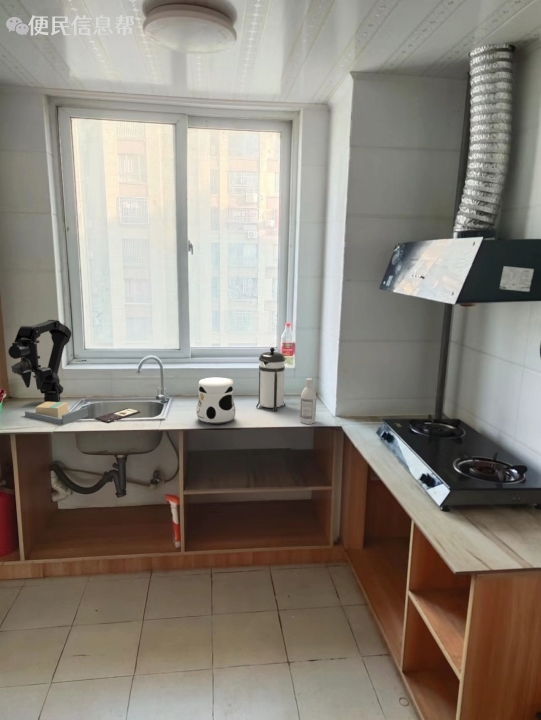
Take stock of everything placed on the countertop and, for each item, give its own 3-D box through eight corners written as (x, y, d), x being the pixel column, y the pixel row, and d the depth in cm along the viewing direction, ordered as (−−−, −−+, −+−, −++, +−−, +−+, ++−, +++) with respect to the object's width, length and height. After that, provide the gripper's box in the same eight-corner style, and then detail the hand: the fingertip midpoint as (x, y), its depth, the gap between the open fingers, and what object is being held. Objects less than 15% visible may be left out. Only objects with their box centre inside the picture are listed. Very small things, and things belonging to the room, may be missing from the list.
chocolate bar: (95, 418, 206) (127, 408, 221) (95, 420, 206) (127, 410, 221) (108, 422, 202) (140, 411, 216) (108, 424, 202) (140, 413, 217)
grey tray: (49, 411, 216) (48, 399, 214) (88, 419, 206) (87, 407, 205) (24, 419, 204) (23, 407, 203) (64, 428, 194) (63, 415, 193)
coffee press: (291, 411, 225) (293, 350, 219) (259, 412, 221) (260, 350, 215) (282, 400, 241) (283, 343, 235) (251, 402, 237) (252, 344, 231)
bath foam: (307, 418, 214) (308, 376, 210) (318, 422, 209) (320, 379, 205) (296, 421, 210) (298, 378, 206) (308, 425, 205) (309, 381, 201)
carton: (46, 411, 211) (46, 401, 210) (68, 412, 210) (67, 402, 209) (36, 417, 203) (35, 407, 202) (58, 418, 202) (57, 408, 201)
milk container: (189, 418, 210) (189, 380, 206) (222, 412, 220) (222, 375, 217) (208, 429, 197) (208, 388, 193) (242, 422, 207) (243, 383, 203)
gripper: (-1, 355, 202) (2, 389, 205) (29, 359, 194) (32, 395, 198) (22, 351, 212) (24, 384, 215) (51, 355, 204) (54, 389, 208)
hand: (33, 388), depth 209 cm, fingers open, 7 cm apart
